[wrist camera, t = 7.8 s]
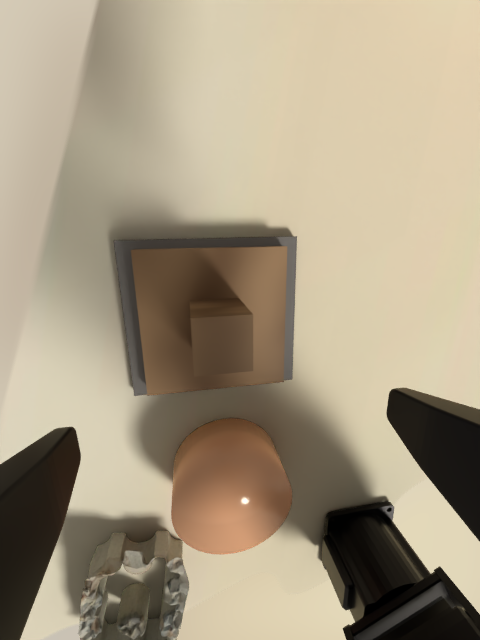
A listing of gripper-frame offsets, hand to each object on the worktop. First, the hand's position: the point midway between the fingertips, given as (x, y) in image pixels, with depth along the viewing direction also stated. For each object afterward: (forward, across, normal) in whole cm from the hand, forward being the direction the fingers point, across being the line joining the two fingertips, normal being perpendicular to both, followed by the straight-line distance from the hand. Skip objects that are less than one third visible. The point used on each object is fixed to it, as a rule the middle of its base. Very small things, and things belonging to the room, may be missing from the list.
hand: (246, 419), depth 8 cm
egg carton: (+12, +7, +23) cm, 27 cm away
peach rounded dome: (+12, -1, +12) cm, 17 cm away
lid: (+11, 0, 0) cm, 11 cm away
